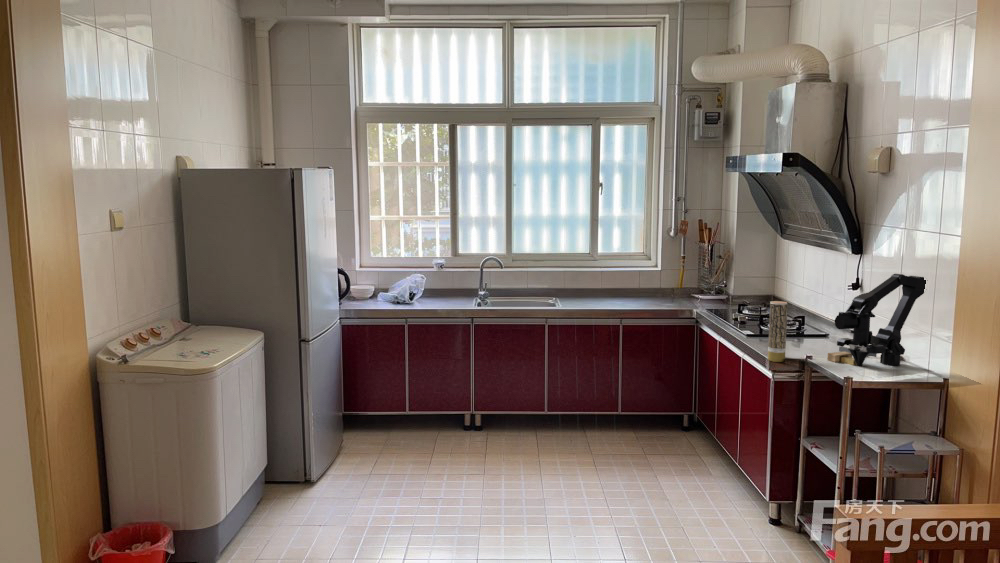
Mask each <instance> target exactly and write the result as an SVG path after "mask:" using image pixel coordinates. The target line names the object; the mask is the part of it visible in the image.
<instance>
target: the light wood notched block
mask: <svg viewBox="0 0 1000 563" xmlns="http://www.w3.org/2000/svg"><path fill="white" fill-rule="evenodd" d="M839 356H847V357H851V358H853V356H852V354H851V353H848V352H840V351H837V352H827V357H826V358H827V359H826V360H827V362H830V363H831V362H832V363H836V364H837V363H840V362H839Z"/></svg>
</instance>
